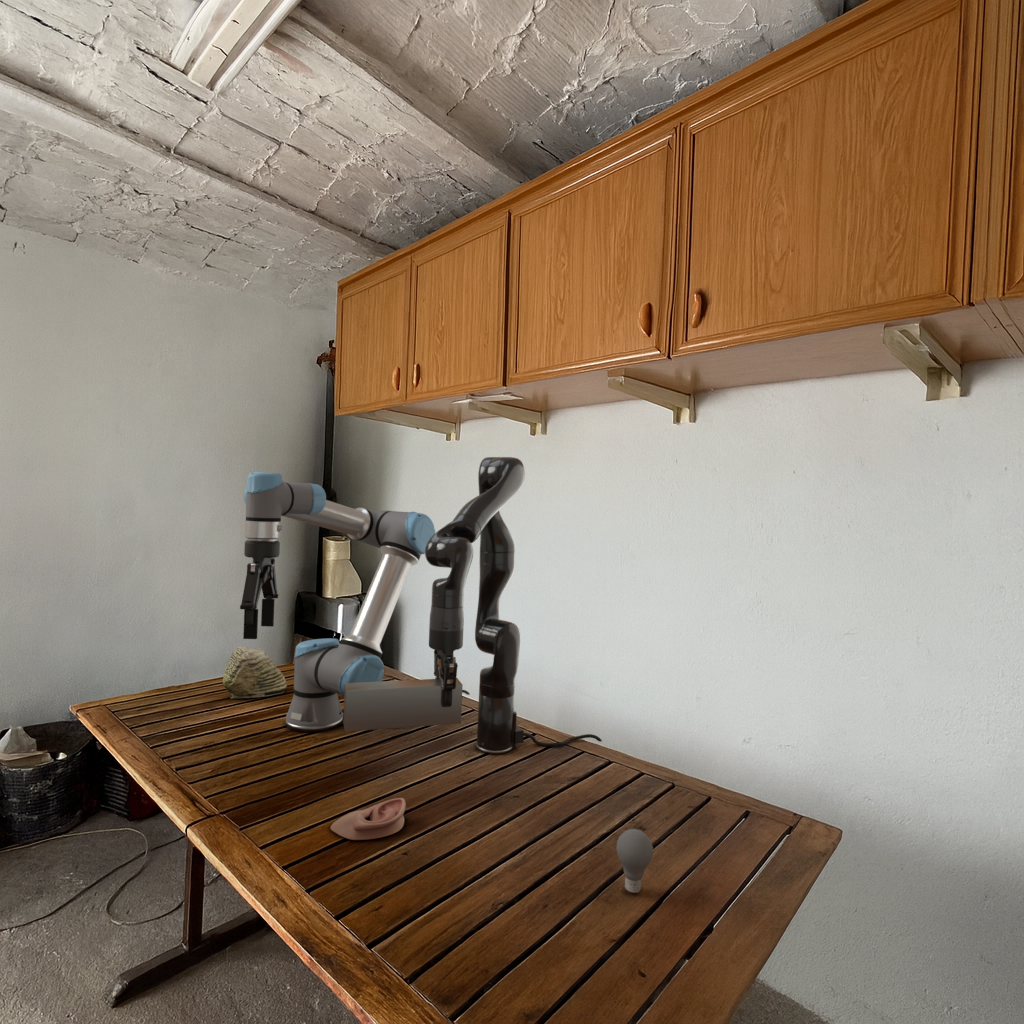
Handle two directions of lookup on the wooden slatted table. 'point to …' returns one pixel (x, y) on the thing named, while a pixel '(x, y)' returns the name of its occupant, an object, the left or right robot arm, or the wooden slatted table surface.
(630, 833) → the light bulb
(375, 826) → the anatomical model
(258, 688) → the fossil
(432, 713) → the bar
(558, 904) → the wooden slatted table surface
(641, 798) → the wooden slatted table surface
